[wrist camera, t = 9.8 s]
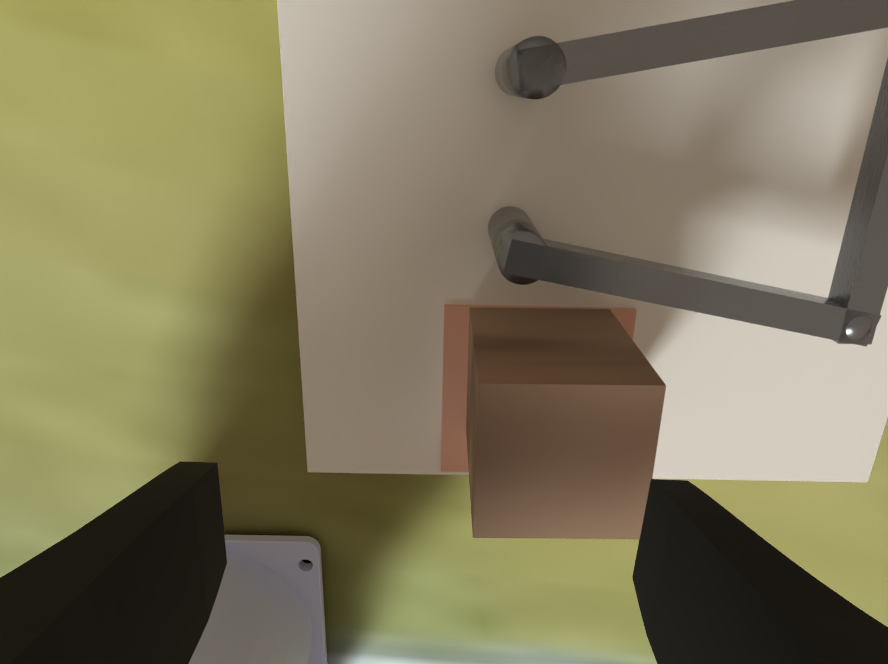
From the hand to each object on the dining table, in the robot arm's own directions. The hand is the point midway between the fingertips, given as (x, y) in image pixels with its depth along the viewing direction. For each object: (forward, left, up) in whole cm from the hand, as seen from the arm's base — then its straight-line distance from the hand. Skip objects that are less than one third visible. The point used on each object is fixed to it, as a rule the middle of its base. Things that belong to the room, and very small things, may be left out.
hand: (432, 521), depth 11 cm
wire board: (+5, -5, -10) cm, 12 cm away
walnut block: (-1, -3, -9) cm, 9 cm away
